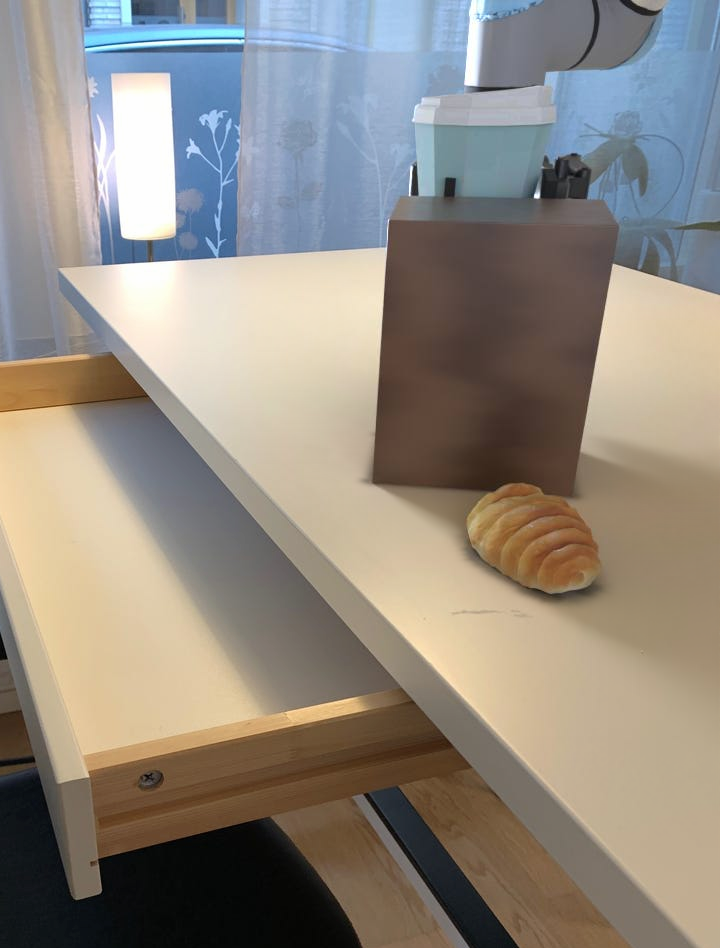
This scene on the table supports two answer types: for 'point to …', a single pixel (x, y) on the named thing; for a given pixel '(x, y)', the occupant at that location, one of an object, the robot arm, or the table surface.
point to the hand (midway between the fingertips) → (499, 200)
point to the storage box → (490, 340)
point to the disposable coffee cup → (484, 141)
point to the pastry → (534, 539)
